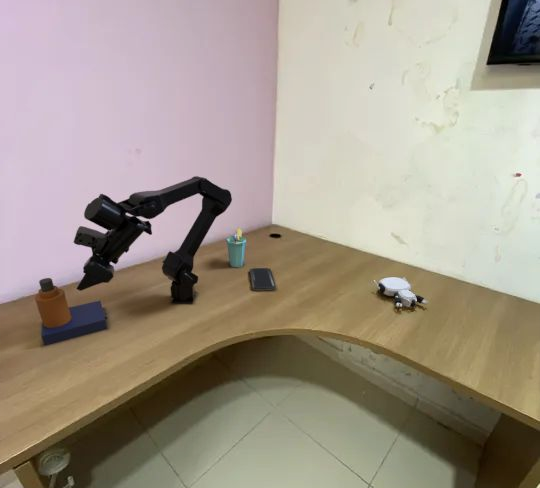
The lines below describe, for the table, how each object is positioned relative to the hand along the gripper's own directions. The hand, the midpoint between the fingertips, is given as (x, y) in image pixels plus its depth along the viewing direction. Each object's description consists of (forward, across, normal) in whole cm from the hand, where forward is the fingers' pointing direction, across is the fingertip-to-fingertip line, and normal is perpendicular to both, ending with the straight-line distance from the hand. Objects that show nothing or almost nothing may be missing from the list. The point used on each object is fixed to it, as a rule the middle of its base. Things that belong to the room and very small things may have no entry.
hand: (81, 280), depth 79 cm
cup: (-24, -26, +43) cm, 56 cm away
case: (+12, -1, +7) cm, 14 cm away
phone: (-28, -12, +47) cm, 56 cm away
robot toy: (-57, +13, +76) cm, 95 cm away
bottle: (+13, 0, +2) cm, 13 cm away
